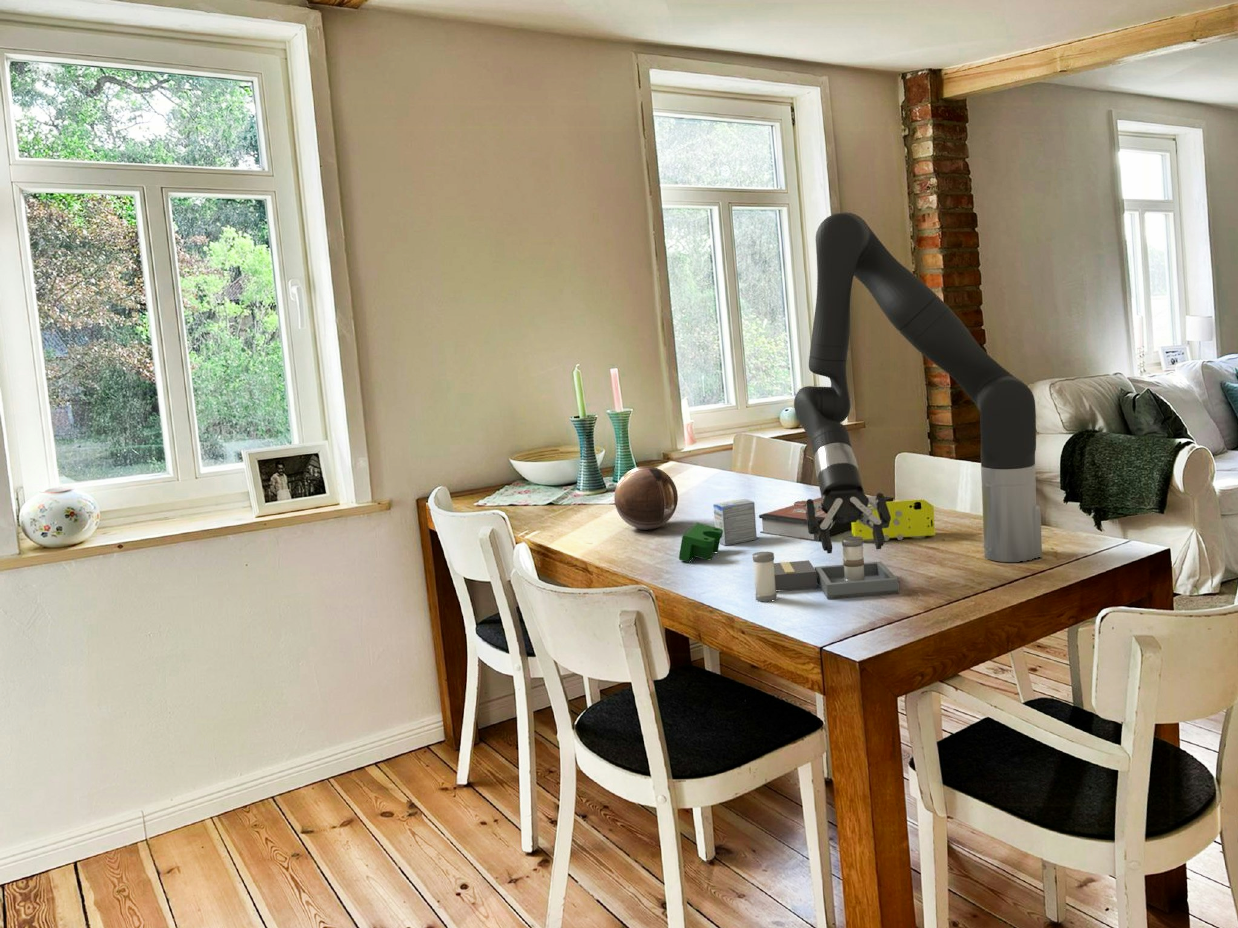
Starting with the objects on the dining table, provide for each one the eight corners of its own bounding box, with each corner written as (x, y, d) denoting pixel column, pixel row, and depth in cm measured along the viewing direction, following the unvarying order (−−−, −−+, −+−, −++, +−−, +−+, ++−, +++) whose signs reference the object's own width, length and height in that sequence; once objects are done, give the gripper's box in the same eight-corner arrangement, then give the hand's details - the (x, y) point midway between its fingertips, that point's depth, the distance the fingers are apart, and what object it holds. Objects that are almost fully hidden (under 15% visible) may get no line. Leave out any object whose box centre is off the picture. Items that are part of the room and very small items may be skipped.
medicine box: (747, 536, 217) (744, 498, 216) (757, 540, 213) (754, 501, 212) (715, 542, 215) (712, 503, 213) (725, 546, 210) (722, 506, 209)
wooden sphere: (607, 529, 238) (601, 468, 236) (662, 518, 244) (656, 459, 242) (634, 539, 225) (628, 474, 222) (691, 528, 231) (686, 465, 228)
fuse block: (809, 576, 182) (808, 559, 181) (817, 587, 174) (816, 570, 174) (760, 580, 182) (759, 563, 182) (766, 592, 174) (765, 574, 174)
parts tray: (881, 574, 178) (880, 561, 178) (898, 593, 167) (898, 579, 166) (815, 580, 179) (814, 566, 179) (827, 599, 167) (826, 584, 167)
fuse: (775, 595, 172) (772, 550, 171) (778, 601, 169) (775, 555, 167) (754, 596, 172) (751, 552, 171) (757, 602, 169) (753, 557, 167)
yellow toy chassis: (855, 544, 202) (853, 504, 201) (852, 538, 208) (849, 499, 207) (935, 539, 201) (933, 499, 199) (929, 533, 206) (928, 493, 205)
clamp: (706, 581, 201) (708, 547, 195) (678, 574, 202) (679, 540, 197) (723, 546, 210) (725, 512, 204) (696, 539, 212) (698, 506, 206)
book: (832, 511, 236) (831, 491, 236) (894, 519, 223) (893, 497, 222) (758, 534, 220) (756, 512, 220) (819, 544, 207) (817, 520, 206)
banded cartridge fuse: (862, 579, 174) (860, 535, 173) (867, 585, 171) (864, 540, 170) (842, 581, 175) (839, 537, 173) (846, 586, 171) (843, 541, 170)
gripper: (800, 465, 178) (815, 541, 168) (879, 457, 177) (899, 534, 168) (797, 488, 184) (812, 563, 174) (874, 481, 183) (893, 556, 174)
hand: (854, 549), depth 171 cm, fingers open, 8 cm apart
